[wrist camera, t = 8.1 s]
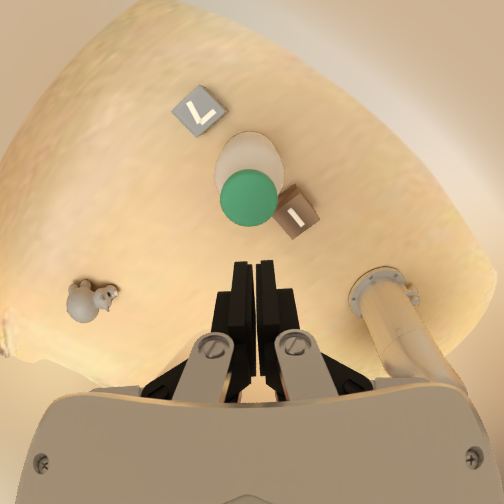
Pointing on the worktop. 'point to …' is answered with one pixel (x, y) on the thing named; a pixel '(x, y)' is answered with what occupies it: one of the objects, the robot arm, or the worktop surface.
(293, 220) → the walnut block
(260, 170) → the milk bottle
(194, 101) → the slate grey block
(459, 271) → the worktop surface
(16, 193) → the worktop surface
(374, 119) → the worktop surface
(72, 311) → the chubby cartoon animal
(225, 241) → the worktop surface
